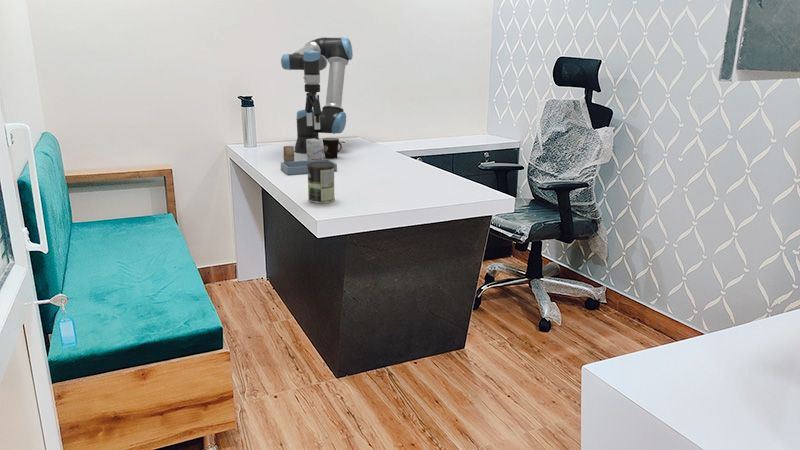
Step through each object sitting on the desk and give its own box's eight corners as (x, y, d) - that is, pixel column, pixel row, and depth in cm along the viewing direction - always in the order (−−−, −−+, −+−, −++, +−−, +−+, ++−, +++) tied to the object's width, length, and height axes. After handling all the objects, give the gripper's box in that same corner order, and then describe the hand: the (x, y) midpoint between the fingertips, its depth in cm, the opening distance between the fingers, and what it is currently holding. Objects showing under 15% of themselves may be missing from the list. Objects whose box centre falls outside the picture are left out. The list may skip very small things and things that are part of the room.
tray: (280, 169, 284) (280, 162, 283) (328, 166, 294) (328, 159, 292) (287, 175, 272) (287, 167, 271) (336, 171, 282) (336, 164, 281)
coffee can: (307, 203, 226) (306, 167, 222) (309, 196, 236) (308, 161, 231) (334, 203, 227) (334, 167, 222) (335, 196, 236) (334, 161, 232)
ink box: (323, 163, 299) (322, 140, 295) (313, 164, 296) (313, 141, 293) (315, 161, 306) (314, 138, 302) (306, 162, 303) (305, 138, 300)
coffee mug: (320, 156, 317) (320, 138, 314) (336, 155, 320) (336, 137, 317) (327, 160, 307) (326, 141, 304) (343, 159, 310) (342, 140, 307)
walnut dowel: (283, 164, 297) (282, 146, 294) (293, 163, 299) (292, 145, 296) (285, 166, 293) (284, 147, 290) (295, 165, 295) (294, 147, 292)
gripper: (298, 82, 299) (299, 124, 305) (311, 85, 277) (313, 131, 283) (312, 82, 302) (313, 124, 308) (327, 85, 280) (328, 130, 286)
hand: (313, 127), depth 295 cm, fingers open, 13 cm apart
